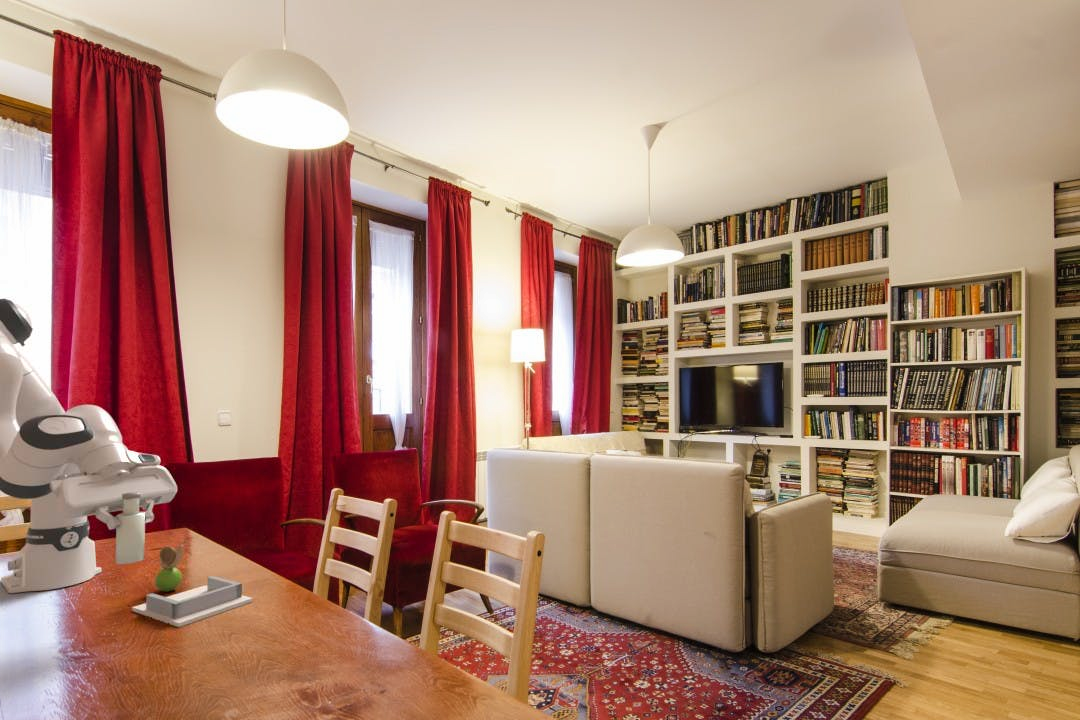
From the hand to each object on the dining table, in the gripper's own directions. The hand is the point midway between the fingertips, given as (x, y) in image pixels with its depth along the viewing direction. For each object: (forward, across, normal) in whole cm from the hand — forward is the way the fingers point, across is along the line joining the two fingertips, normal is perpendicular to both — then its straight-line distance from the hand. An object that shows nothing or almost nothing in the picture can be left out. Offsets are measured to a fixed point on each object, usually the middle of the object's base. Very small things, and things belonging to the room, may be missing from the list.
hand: (132, 523), depth 115 cm
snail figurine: (+2, +18, +29) cm, 34 cm away
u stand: (+12, +14, +18) cm, 26 cm away
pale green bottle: (+5, 0, +6) cm, 7 cm away
